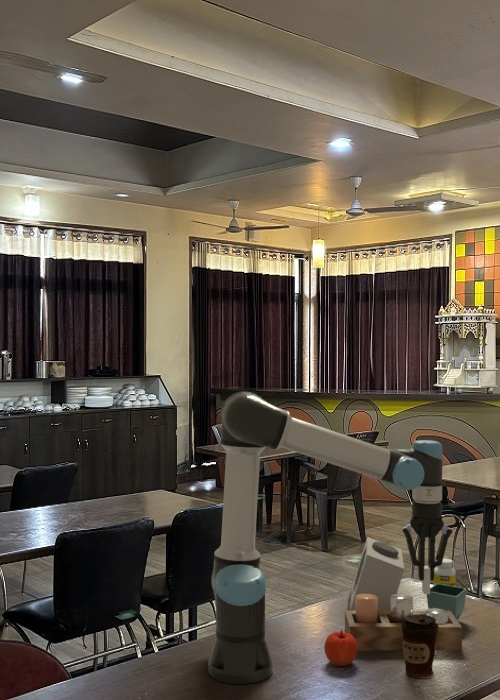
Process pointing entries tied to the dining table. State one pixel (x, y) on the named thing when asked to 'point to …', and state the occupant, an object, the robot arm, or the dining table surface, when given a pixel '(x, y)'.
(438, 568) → the pill bottle
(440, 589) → the flower pot
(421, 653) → the coffee cup
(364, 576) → the alarm clock
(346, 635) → the apple
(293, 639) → the dining table surface
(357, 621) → the plug terracotta
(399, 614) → the plug mid
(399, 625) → the divided box
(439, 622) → the plug far
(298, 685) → the dining table surface
